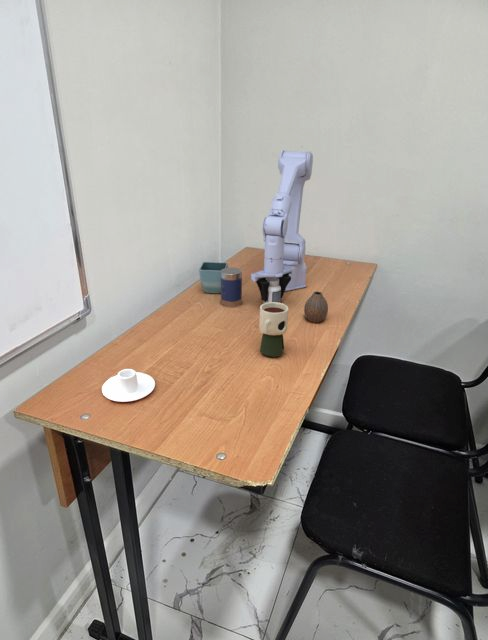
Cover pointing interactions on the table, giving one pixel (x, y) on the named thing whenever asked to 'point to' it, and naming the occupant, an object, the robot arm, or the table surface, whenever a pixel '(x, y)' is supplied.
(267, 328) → the character mug
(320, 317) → the vase
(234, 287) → the tin can
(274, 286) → the pill bottle
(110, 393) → the candle holder
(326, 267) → the table surface
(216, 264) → the flower pot
